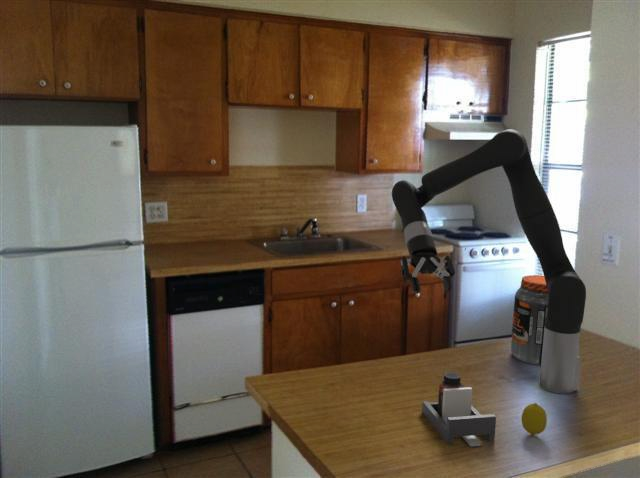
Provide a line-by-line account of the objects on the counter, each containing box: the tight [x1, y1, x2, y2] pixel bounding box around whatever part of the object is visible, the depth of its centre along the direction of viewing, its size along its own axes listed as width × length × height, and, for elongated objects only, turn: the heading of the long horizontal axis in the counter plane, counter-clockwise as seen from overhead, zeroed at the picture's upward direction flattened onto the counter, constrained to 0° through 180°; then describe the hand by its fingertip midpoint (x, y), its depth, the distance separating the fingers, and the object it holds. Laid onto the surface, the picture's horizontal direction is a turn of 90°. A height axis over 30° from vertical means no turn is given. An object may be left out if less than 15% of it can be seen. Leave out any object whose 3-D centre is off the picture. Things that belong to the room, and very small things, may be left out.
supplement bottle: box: [437, 371, 465, 418], centre depth 142 cm, size 6×6×11 cm
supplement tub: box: [510, 274, 549, 366], centre depth 184 cm, size 16×16×26 cm
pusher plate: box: [442, 386, 482, 447], centre depth 134 cm, size 7×11×9 cm, turn 11°
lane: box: [421, 400, 497, 446], centre depth 139 cm, size 11×16×6 cm
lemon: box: [521, 402, 548, 437], centre depth 135 cm, size 6×6×8 cm
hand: (433, 291), depth 153 cm, fingers open, 8 cm apart
